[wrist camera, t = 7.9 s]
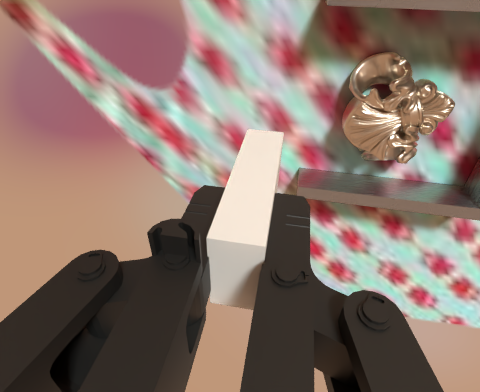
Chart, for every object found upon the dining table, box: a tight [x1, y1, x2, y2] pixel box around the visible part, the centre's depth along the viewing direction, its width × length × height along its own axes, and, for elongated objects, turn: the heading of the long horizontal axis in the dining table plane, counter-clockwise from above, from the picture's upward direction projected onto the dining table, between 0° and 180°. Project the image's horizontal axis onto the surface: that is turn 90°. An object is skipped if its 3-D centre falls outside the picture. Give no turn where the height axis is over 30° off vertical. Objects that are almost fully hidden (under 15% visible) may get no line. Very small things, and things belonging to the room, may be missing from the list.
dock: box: [297, 0, 480, 220], centre depth 21 cm, size 14×14×3 cm
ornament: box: [342, 52, 455, 163], centre depth 21 cm, size 8×7×4 cm
